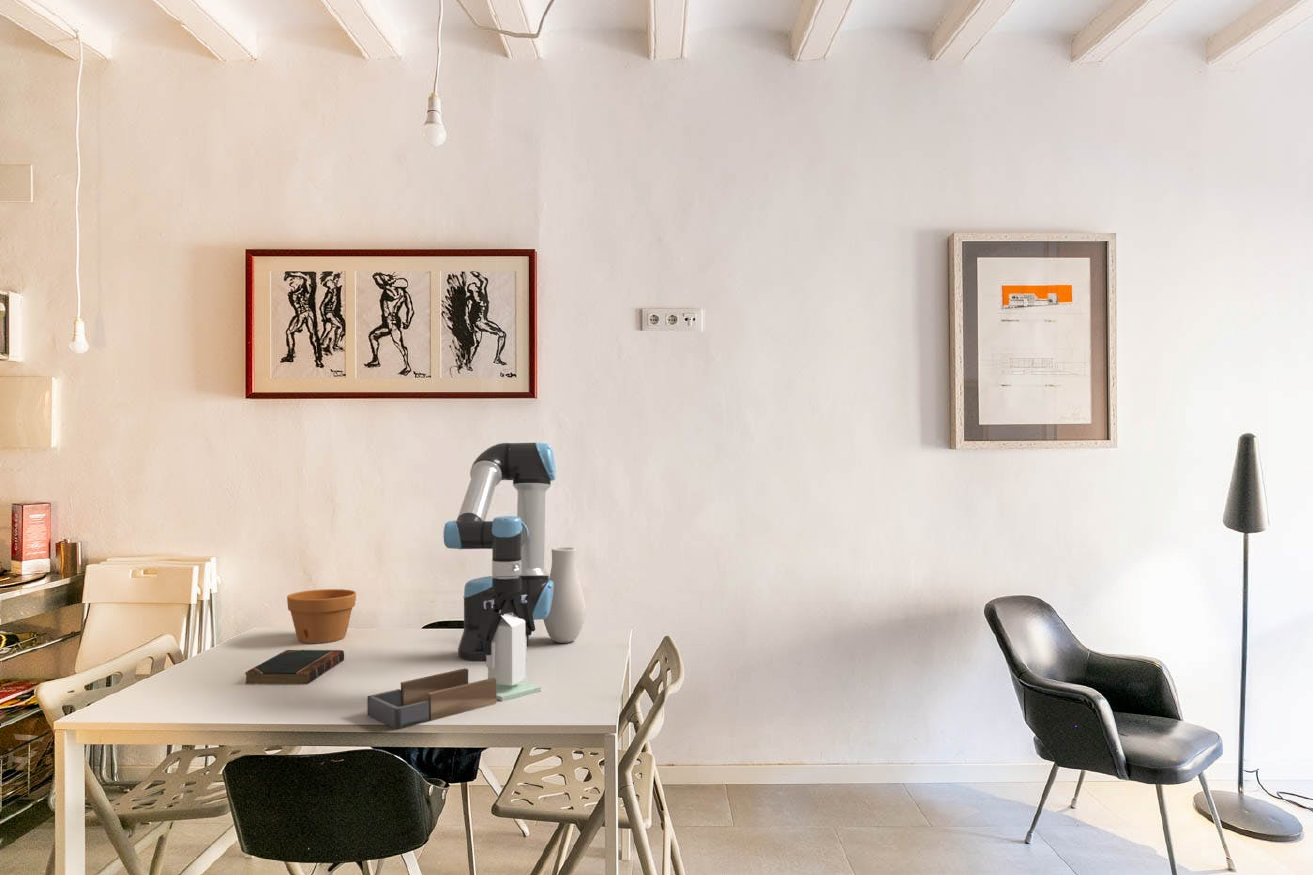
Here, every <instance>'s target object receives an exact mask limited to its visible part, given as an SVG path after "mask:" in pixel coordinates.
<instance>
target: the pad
mask: <svg viewBox="0 0 1313 875" xmlns="http://www.w3.org/2000/svg"><path fill="white" fill-rule="evenodd" d="M541 691H542V687H541V686H539V685H536V684H533V683H530V682H525V681H524V680H521V681H520V682H518V683H516V684H514V685H503V684H496V701H497V700H498V701H500V702H505V701H509V700H511V699H515V698H516V699H517V698H519V697H522V696H527V695H531V694H535V693H539V692H541Z"/></svg>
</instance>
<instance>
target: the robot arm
mask: <svg viewBox="0 0 1313 875" xmlns="http://www.w3.org/2000/svg"><path fill="white" fill-rule="evenodd" d="M469 476H470V481H469V483H468V487H467V489H466V492H465V495H464V498H463V501H462V504H461V507H460V510H459V513H458V516H457V518H456V519H455V520H450V521H449V520H448V521H447V522H446V523H445V524H444V527H443V534H442V535H443V536H442V537H443V543H444V546H445V547H446V548H447V549H453V550H454V549H455V550H482V549H483V550H492V553H491V554H492V555H491V556H492V559H491V575H488V576H482V577H477V578H473V579H471V580H468V581H467V582H466V583H465V584H464V592H463V632H462V635H461V639H460V641H459V645H458V648H457V656H458V657H459V658H460V659H464V660H467V661H468V660H469V661H485V662H486V664H485V665H486V667H487V668H488V667H490V668H495V642H493V641H492V640H493V638H494V635H495V633H496V630H497V628H498V625H499V623H500V620H501V618H502V616H504V614H506V613H508V612H511V613H512V612H513V613H514V614H515V615H516V616H517V617H518V618H520V619H524V620H525V662H526V661H527V660H528V658H527V656H528V654H527V652H528V649H527V648H528V647H529V645H530V641H529V638H530V636H531V635H532V632H535V631H536V626H535V621H537V620H538V621H539V620H543V619H545V618H547V616H548V615H549V612H550V609H551V604H552V598H553V590H554V589H553V588H554V583H553V581H551V580H549V577H550V573H548V572H547V571H546V569H545V542H546V540H545V537H546V534H545V532H546V527H545V526H546V493H547V491H548V489H549V488H550V487H551V483H552V482H553V481H555V480H556V478H557V476H556V464H555V456H554V451H553V448H552V446H551V444H549V443H544V442H501V443H496V444H495V445H492V446H491V447H488V448H487V449H486V450H484V451H483V452H481V453H480V454H479V455H478V456H477V458H475V460H474V462H473V463H472V465H471V468H470V472H469ZM501 481H512V487H514V489H515V490H516V491H517V505H516V506H517V508H516V511H517V512H516V516H515V515H511V516H510V515H507V516H506V515H505V516H502V515H501V516H496V517H494V518H493V519H492V520H491V521H490V520H486V518H487V515H488V513H489V510H490V506H491V503H492V498H493V496H494V492H495V489H496V487H497V486H498V485H499V484H500V482H501ZM500 610H501V612H500ZM498 612H499V613H498ZM501 615H502V616H501Z"/></svg>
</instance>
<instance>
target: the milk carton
mask: <svg viewBox="0 0 1313 875" xmlns="http://www.w3.org/2000/svg"><path fill="white" fill-rule="evenodd" d="M500 612H501V610H500ZM498 613H499V612H498ZM501 616H502V615H501ZM492 641H493V642H495V668H490V667H487V679H490V678H495V679H496V684H503V685H514V684H516V683H518V682H520V681H524V680H525V679H526V661H525V620H524V619H520V618H518V617H517V616H516V615H515V614H514V613H513V612H512V613H511V612H508V613H506V614H504V616H502V618H501V620H500V623H499V625H498V628H497V630H496V633H495V635H494V638H493V640H492Z"/></svg>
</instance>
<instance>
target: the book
mask: <svg viewBox="0 0 1313 875" xmlns="http://www.w3.org/2000/svg"><path fill="white" fill-rule="evenodd" d="M344 660H345V651H344V650H343V649H342V650H341V649H287V650H284V651H282V652H280V653H278V654H277V655H274V656H273V657H271V658H269V659H268V660H266V661H264V662H262V663H259V664H258V665H256V666H254V667H252V668H250V669H249V670H246V671H245V672H244V673H243V674H245V677H246V679H245V685H246V684H249V685H250V683H251V685H255V683H258V685H259V684H262V685H265V684H266V685H309V684H310V683H312V682H313V681H315V680H316V679H318V678H320V676H323V675H325V674H326V673H327V672H328V671H330V670H331V669H333V668H334V667H336V666H337V665H339V664H341V663H342V662H343V661H344Z"/></svg>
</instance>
